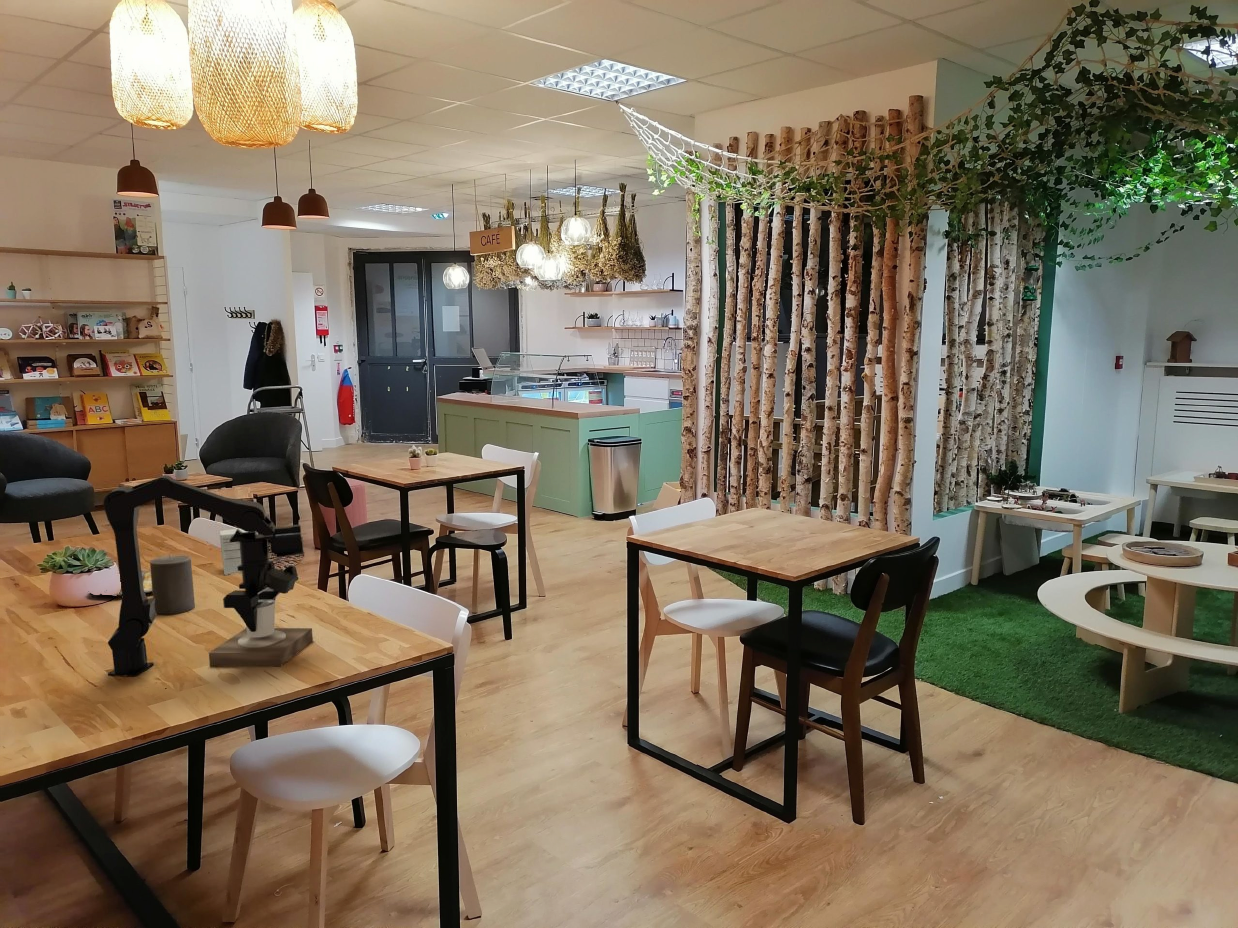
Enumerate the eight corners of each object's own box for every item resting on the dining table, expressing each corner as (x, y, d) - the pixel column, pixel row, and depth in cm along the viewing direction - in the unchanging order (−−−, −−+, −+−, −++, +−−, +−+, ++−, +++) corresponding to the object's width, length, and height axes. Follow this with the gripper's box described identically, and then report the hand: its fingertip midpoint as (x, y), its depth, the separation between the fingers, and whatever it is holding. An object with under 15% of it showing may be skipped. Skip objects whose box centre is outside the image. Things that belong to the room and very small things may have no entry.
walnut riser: (280, 666, 185) (279, 650, 185) (209, 665, 187) (208, 650, 186) (312, 640, 201) (311, 626, 201) (247, 640, 202) (246, 625, 202)
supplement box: (223, 570, 267) (219, 530, 265) (249, 566, 270) (245, 527, 268) (223, 575, 260) (219, 535, 258) (249, 572, 263) (246, 532, 261)
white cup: (265, 639, 189) (263, 608, 188) (237, 637, 191) (235, 607, 190) (283, 628, 196) (281, 599, 195) (256, 627, 197) (254, 597, 196)
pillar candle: (157, 617, 221) (152, 560, 219) (151, 608, 229) (146, 553, 227) (198, 610, 227) (194, 555, 225) (191, 601, 235) (187, 548, 232)
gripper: (269, 570, 181) (275, 641, 183) (308, 548, 199) (313, 613, 201) (218, 570, 182) (225, 641, 184) (262, 548, 200) (267, 613, 202)
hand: (260, 626), depth 193 cm, fingers closed on white cup, 6 cm apart
